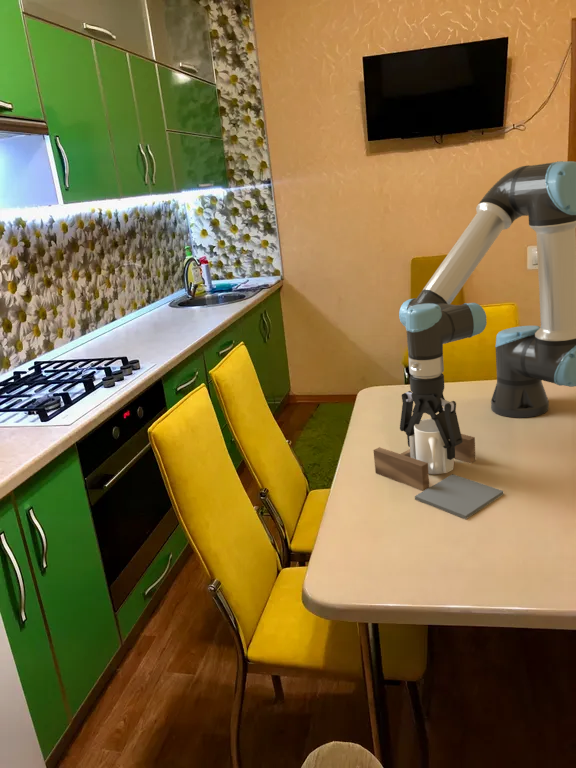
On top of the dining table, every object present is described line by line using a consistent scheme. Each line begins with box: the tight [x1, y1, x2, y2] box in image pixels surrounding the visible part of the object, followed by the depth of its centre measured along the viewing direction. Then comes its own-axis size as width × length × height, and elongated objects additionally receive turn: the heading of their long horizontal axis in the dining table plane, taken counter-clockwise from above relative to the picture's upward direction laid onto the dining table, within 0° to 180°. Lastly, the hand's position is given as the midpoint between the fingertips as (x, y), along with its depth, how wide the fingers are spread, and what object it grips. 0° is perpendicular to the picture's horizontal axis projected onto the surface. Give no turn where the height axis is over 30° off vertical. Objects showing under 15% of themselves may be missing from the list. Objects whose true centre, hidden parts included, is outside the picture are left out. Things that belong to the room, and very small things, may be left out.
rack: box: [373, 433, 477, 492], centre depth 146 cm, size 19×14×6 cm
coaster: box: [414, 473, 504, 520], centre depth 131 cm, size 13×13×1 cm
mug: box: [414, 417, 455, 475], centre depth 143 cm, size 9×12×11 cm
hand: (431, 465), depth 145 cm, fingers closed on mug, 9 cm apart
